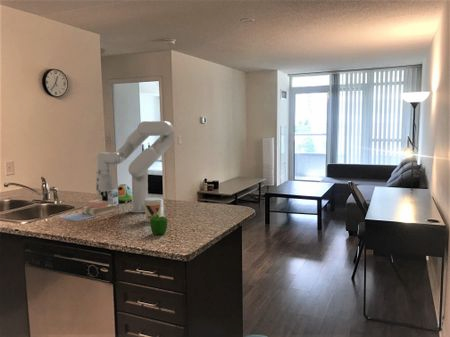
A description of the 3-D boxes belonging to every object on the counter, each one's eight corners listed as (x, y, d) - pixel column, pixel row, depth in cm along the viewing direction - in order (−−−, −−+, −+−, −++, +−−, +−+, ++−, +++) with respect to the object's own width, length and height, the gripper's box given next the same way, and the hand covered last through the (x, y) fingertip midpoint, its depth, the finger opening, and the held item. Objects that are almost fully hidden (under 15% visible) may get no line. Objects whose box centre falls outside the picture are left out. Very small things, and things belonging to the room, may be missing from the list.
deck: (114, 211, 237) (114, 205, 237) (95, 216, 226) (94, 209, 226) (101, 209, 244) (101, 203, 244) (82, 213, 233) (82, 207, 232)
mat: (95, 216, 224) (95, 216, 224) (75, 221, 213) (75, 220, 213) (78, 213, 233) (78, 213, 233) (58, 217, 222) (58, 217, 222)
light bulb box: (118, 205, 259) (118, 189, 258) (113, 206, 253) (112, 190, 252) (104, 204, 262) (103, 188, 261) (98, 206, 255) (98, 190, 254)
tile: (107, 206, 234) (107, 201, 234) (98, 208, 229) (98, 203, 228) (97, 204, 240) (97, 199, 240) (87, 206, 234) (87, 201, 234)
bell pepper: (168, 231, 192) (168, 211, 191) (166, 235, 183) (166, 215, 182) (151, 231, 191) (151, 211, 190) (148, 236, 183) (148, 215, 182)
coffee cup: (145, 222, 209) (144, 200, 208) (144, 219, 218) (143, 198, 217) (162, 221, 211) (162, 200, 210) (160, 218, 220) (160, 197, 219)
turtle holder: (137, 198, 282) (136, 182, 281) (128, 203, 264) (127, 186, 263) (120, 198, 283) (119, 182, 282) (110, 203, 265) (110, 186, 264)
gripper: (97, 174, 229) (98, 204, 231) (118, 171, 241) (118, 201, 243) (89, 173, 233) (90, 203, 235) (110, 171, 245) (111, 199, 247)
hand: (105, 202), depth 239 cm, fingers closed
